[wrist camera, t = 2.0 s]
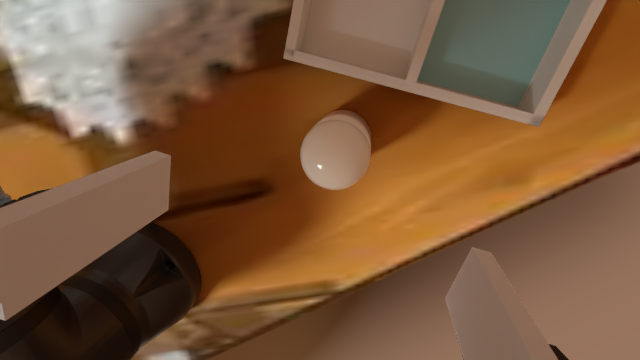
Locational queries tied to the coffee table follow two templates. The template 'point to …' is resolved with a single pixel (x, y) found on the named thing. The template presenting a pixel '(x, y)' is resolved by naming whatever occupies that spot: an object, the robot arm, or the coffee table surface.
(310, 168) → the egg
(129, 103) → the coffee table surface
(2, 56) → the coffee table surface
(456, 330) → the robot arm
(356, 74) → the divided tray
